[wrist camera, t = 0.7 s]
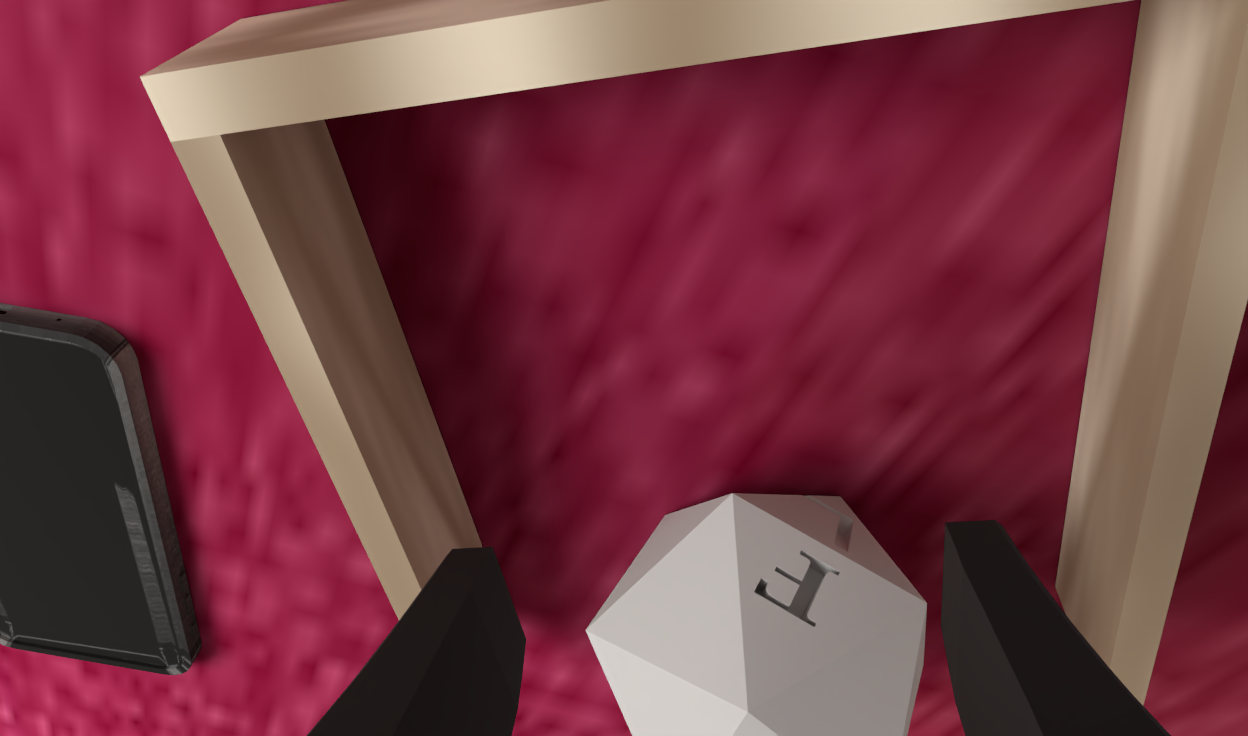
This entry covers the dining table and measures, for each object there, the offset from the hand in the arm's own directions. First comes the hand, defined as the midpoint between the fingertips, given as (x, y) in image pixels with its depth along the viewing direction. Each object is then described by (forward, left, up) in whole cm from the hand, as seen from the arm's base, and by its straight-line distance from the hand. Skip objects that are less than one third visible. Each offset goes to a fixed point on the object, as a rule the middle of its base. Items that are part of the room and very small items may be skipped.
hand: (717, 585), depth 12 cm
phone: (+22, +6, -11) cm, 25 cm away
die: (0, +10, -11) cm, 15 cm away
